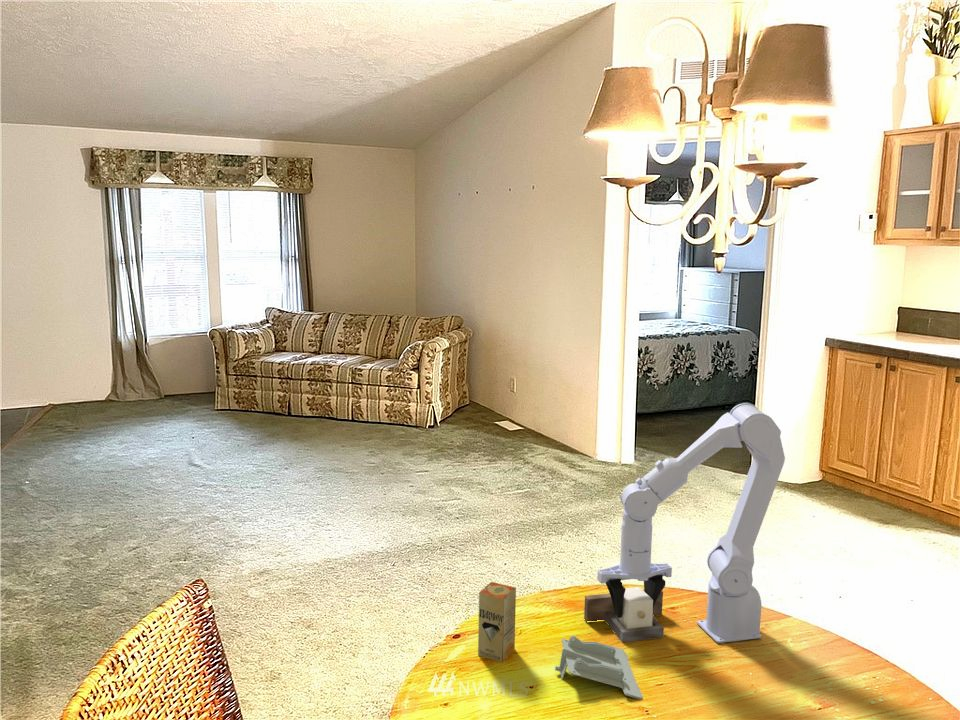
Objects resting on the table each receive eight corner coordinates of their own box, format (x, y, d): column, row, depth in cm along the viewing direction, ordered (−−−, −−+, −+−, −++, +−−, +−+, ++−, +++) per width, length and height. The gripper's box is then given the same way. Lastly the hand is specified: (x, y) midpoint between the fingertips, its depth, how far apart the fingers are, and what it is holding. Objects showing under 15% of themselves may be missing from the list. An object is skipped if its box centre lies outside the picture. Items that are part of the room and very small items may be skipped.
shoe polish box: (490, 642, 143) (491, 581, 141) (514, 649, 141) (515, 587, 139) (478, 655, 139) (479, 592, 137) (502, 662, 136) (504, 598, 135)
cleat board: (658, 611, 156) (659, 588, 155) (681, 635, 146) (683, 610, 146) (584, 619, 152) (584, 595, 151) (603, 644, 143) (604, 619, 142)
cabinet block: (638, 620, 152) (639, 586, 151) (653, 636, 146) (654, 601, 145) (614, 623, 151) (615, 589, 150) (629, 639, 145) (630, 604, 144)
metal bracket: (570, 668, 125) (558, 622, 140) (558, 699, 126) (548, 650, 141) (653, 691, 126) (633, 643, 141) (641, 722, 127) (622, 671, 141)
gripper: (608, 558, 141) (605, 627, 143) (680, 552, 144) (677, 619, 147) (594, 543, 148) (591, 610, 150) (663, 537, 151) (660, 602, 153)
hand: (632, 613), depth 149 cm, fingers open, 6 cm apart
